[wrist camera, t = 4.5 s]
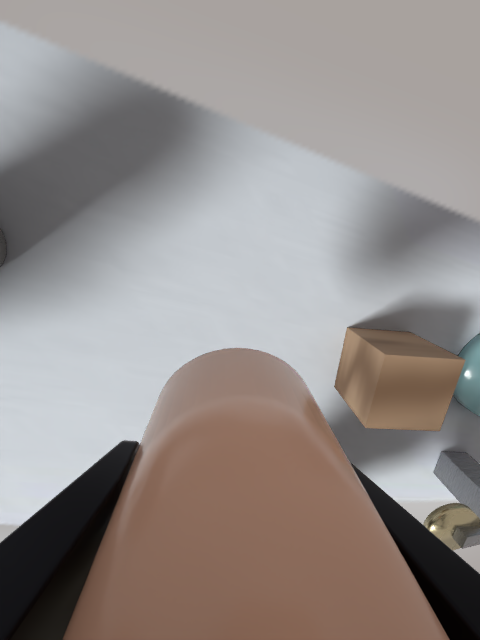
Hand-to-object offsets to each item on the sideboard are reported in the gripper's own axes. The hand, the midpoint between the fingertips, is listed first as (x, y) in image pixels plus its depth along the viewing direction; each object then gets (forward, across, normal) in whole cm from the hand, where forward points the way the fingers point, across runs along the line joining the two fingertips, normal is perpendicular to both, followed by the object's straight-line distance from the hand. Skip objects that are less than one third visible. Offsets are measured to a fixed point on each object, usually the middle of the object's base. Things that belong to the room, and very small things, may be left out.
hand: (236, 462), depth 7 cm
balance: (+12, -22, +10) cm, 27 cm away
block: (+13, -12, +2) cm, 17 cm away
